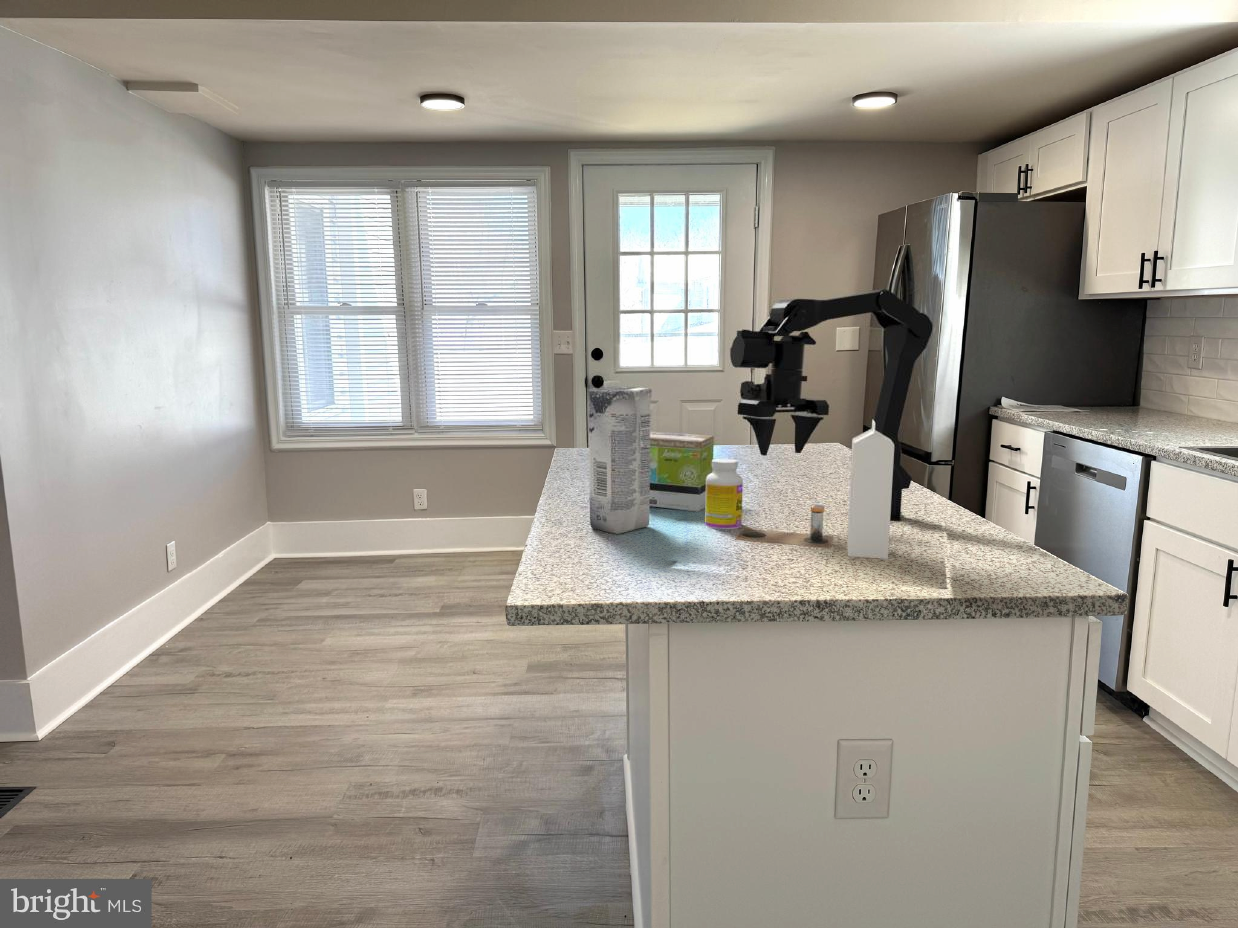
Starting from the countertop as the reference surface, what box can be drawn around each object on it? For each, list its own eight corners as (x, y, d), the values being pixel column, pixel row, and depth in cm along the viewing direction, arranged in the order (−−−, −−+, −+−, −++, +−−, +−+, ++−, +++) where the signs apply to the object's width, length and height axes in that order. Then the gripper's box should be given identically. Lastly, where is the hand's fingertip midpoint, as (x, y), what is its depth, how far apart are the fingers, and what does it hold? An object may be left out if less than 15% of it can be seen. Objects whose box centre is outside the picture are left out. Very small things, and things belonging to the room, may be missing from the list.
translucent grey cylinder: (823, 539, 135) (825, 504, 134) (821, 542, 133) (823, 507, 132) (810, 538, 136) (811, 503, 135) (808, 541, 134) (810, 506, 133)
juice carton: (656, 526, 149) (657, 380, 144) (618, 536, 141) (618, 383, 137) (621, 519, 155) (621, 378, 150) (582, 528, 147) (581, 381, 143)
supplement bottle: (740, 535, 142) (742, 464, 140) (703, 533, 144) (704, 462, 142) (742, 526, 149) (744, 458, 147) (706, 524, 150) (708, 457, 148)
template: (833, 541, 138) (834, 536, 138) (828, 553, 130) (828, 547, 130) (744, 533, 143) (744, 528, 143) (734, 544, 136) (734, 538, 136)
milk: (847, 562, 126) (853, 422, 122) (846, 552, 131) (852, 418, 128) (888, 565, 124) (895, 423, 121) (885, 554, 130) (892, 419, 126)
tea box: (630, 506, 166) (630, 435, 164) (646, 497, 175) (647, 430, 173) (699, 512, 161) (701, 439, 158) (713, 503, 170) (714, 433, 167)
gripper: (788, 368, 158) (783, 446, 160) (718, 366, 147) (714, 451, 149) (833, 370, 149) (827, 453, 151) (763, 369, 138) (757, 459, 140)
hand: (781, 454), depth 148 cm, fingers open, 9 cm apart
